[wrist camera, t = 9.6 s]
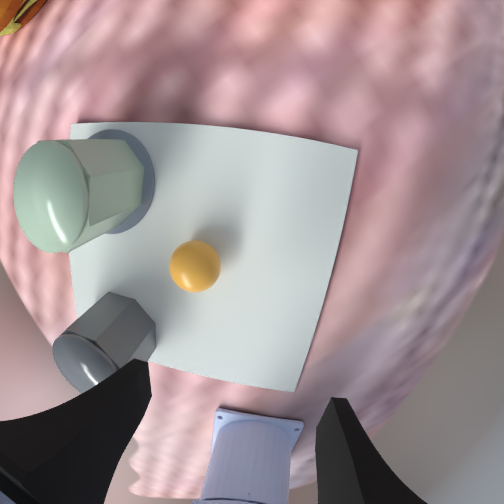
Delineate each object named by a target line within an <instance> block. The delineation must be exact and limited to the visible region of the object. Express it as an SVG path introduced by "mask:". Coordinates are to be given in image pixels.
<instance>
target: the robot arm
mask: <svg viewBox="0 0 504 504" xmlns="http://www.w3.org/2000/svg"><path fill="white" fill-rule="evenodd" d="M151 397H152V393H151V385H150V376H149V367H148V362H145V361H142V360H138V359H135V358H134V359H132V360H131V361H130V362H128V363H127V364H125V365H124V366H123V367H121V368H120V369H119V370H117V371H116V372H114V373H113V374H112V375H110V376H109V377H107V378H106V379H104V380H103V381H101V382H100V383H98V384H97V385H95V386H94V387H92V388H91V389H89V390H87V391H85V392H84V393H82V394H80V395H79V396H77V397H75V398H73V399H71V400H69V401H67V402H65V403H63V404H61V405H59V406H57V407H54V408H51V409H49V410H46V411H44V412H40V413H38V414H34V415H31V416H27V417H23V418H19V419H14V420H8V421H0V504H104V501H105V497H106V494H107V491H108V488H109V485H110V483H111V480H112V477H113V474H114V472H115V469H116V467H117V464H118V462H119V460H120V458H121V456H122V454H123V452H124V450H125V449H126V446H127V445H128V443H129V441H130V440H131V438H132V436H133V434H134V433H135V431H136V429H137V427H138V426H139V424H140V422H141V420H142V418H143V416H144V414H145V412H146V409H147V407H148V404H149V402H150V399H151ZM303 427H304V423H303V422H302V421H296V420H288V419H280V418H272V417H266V416H259V415H253V414H247V413H242V412H237V411H232V410H227V409H222V408H219V409H216V412H215V419H214V429H213V438H212V448H211V458H210V462H209V466H208V469H207V473H206V476H205V480H204V484H203V487H202V491H201V495H200V498H199V500H196V499H194V500H193V503H192V504H288V494H289V479H290V459H291V451H292V449H293V447H294V445H295V443H296V441H297V439H298V437H299V435H300V433H301V431H302V429H303ZM315 453H316V468H317V482H318V504H427V503H426V502H424V501H423V500H422V499H421V498H419V497H418V496H417V495H416V494H415V493H414V492H413V491H412V490H410V489H409V488H408V487H407V486H406V485H405V484H404V483H403V482H402V481H401V480H400V479H399V478H398V477H397V476H396V475H395V473H394V472H393V471H392V470H391V469H390V467H389V466H388V465H387V464H386V462H385V461H384V460H383V458H382V457H381V455H380V454H379V453H378V451H377V450H376V448H375V447H374V445H373V444H372V442H371V440H370V439H369V437H368V436H367V434H366V432H365V431H364V429H363V427H362V426H361V424H360V422H359V420H358V418H357V417H356V415H355V413H354V411H353V409H352V407H351V406H350V404H349V402H348V400H347V399H346V398H334V397H331V400H330V402H329V404H328V406H327V408H326V410H325V412H324V414H323V416H322V418H321V420H320V422H319V424H318V426H317V428H316V445H315Z"/></svg>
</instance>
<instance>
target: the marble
mask: <svg viewBox="0 0 504 504" xmlns="http://www.w3.org/2000/svg"><path fill="white" fill-rule="evenodd" d="M169 270H170V275H171V277H172V279H173V281H174V282H175V283H176V284H177V285H178V286H179V287H180V288H181V289H183V290H185V291H188V292H202V291H205V290H207V289H209V288H210V287H212V286H213V285H214V284H215V282H216V281H217V279H218V277H219V275H220V271H221V262H220V258H219V256H218V254H217V252H216V251H215V249H214V248H213V247H212V246H210V245H209V244H207V243H205V242H203V241H198V240H192V241H187V242H185V243H182V244H181V245H179V246H178V247H177V248H176V249H175V250H174V252H173V253H172V256H171V258H170V262H169Z"/></svg>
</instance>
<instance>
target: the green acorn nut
mask: <svg viewBox="0 0 504 504" xmlns="http://www.w3.org/2000/svg"><path fill="white" fill-rule="evenodd" d="M143 176H144V166H143V165H142V164H141V162H140V161H139V159H138V158H137V157H136V155H135V154H134V152H133V151H132V150H131V148H130V147H129V145H128V144H127V143H126V141H125V140H122V139H69V140H45V141H38V142H37V143H36V144H35V145H33V146H32V147H30V148H29V149H28V150H27V151H26V153H25V154H24V155H23V157H22V159H21V161H20V163H19V165H18V168H17V171H16V174H15V179H14V188H13V196H14V206H15V211H16V215H17V218H18V221H19V224H20V226H21V228H22V230H23V232H24V233H25V235H26V237H27V238H28V239H29V240H30V241H31V243H32V244H33V245H35V246H36V247H37V248H39V249H40V250H42V251H45V252H49V253H57V252H60V251H62V252H65V253H68V252H70V251H72V250H74V249H76V248H78V247H80V246H81V245H83V244H85V243H87V242H89V241H91V240H93V239H95V238H97V237H99V236H101V235H103V234H104V233H106V232H108V231H110V230H112V229H114V228H116V227H118V226H120V225H121V224H122V223H123V222H124V221H125V220H126V219H127V218H128V217H129V216H130V215H131V214H132V213H133V212H134V211H135V210H136V209H137V208H138V207H139V206H140V205H141V204H142V189H143Z"/></svg>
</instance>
